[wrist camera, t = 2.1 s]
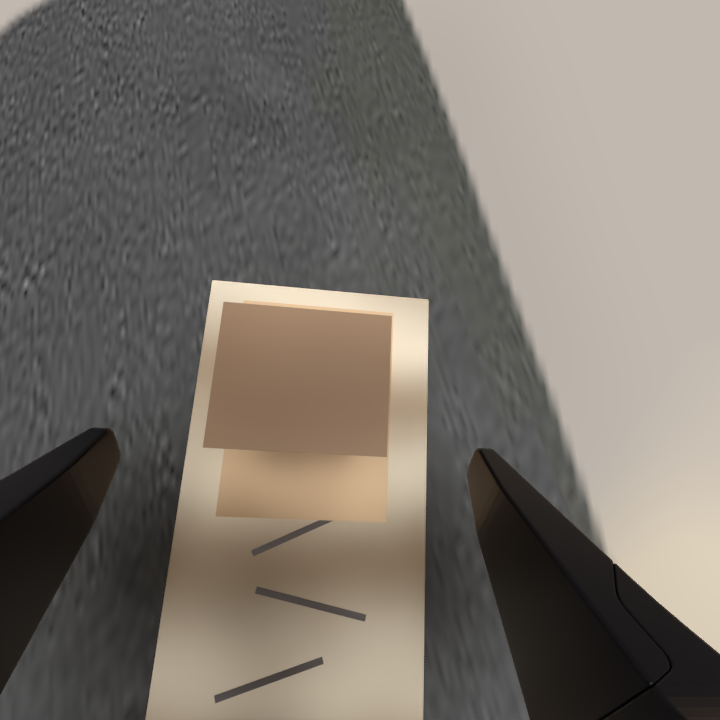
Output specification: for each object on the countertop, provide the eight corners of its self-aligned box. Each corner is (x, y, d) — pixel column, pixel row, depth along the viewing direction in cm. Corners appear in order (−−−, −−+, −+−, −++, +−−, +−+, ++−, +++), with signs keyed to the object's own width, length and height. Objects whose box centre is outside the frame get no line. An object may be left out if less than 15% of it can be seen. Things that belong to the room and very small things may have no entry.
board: (401, 873, 15) (419, 977, 12) (147, 886, 14) (102, 1001, 11) (413, 320, 20) (428, 299, 17) (228, 304, 20) (212, 279, 17)
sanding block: (378, 512, 15) (444, 596, 7) (229, 506, 15) (110, 590, 6) (385, 327, 17) (445, 220, 9) (253, 316, 16) (183, 191, 8)
